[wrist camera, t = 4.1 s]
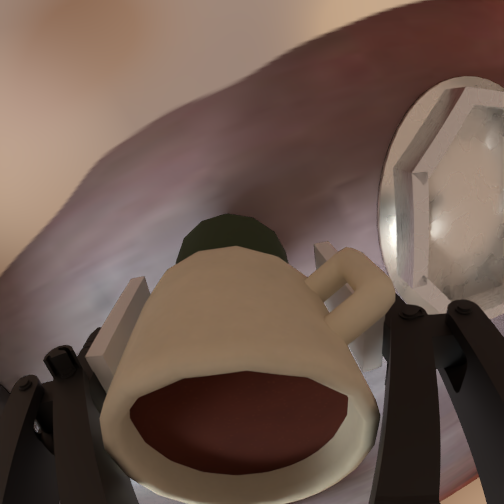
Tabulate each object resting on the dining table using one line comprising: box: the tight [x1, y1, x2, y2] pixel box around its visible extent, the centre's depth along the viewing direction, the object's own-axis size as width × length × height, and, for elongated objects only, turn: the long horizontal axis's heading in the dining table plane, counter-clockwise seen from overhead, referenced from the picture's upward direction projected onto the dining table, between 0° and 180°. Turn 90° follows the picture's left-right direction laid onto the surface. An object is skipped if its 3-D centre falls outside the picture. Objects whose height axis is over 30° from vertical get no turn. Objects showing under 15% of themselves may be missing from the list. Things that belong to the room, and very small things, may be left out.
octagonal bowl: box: [377, 76, 504, 319], centre depth 19 cm, size 21×21×3 cm
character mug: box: [99, 214, 395, 504], centre depth 12 cm, size 11×7×13 cm, turn 132°
